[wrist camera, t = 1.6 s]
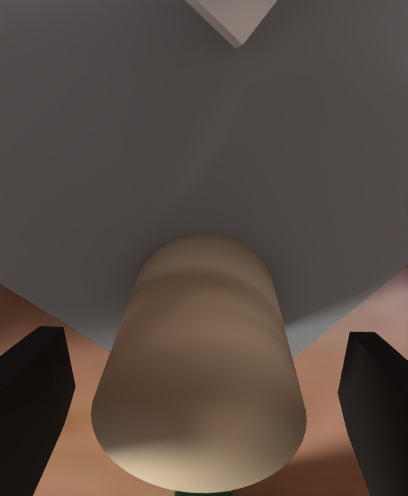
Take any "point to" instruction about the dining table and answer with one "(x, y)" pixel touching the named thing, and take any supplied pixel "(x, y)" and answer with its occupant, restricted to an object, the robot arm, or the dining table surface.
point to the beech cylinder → (201, 372)
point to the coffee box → (216, 495)
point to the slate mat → (202, 151)
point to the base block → (233, 16)
